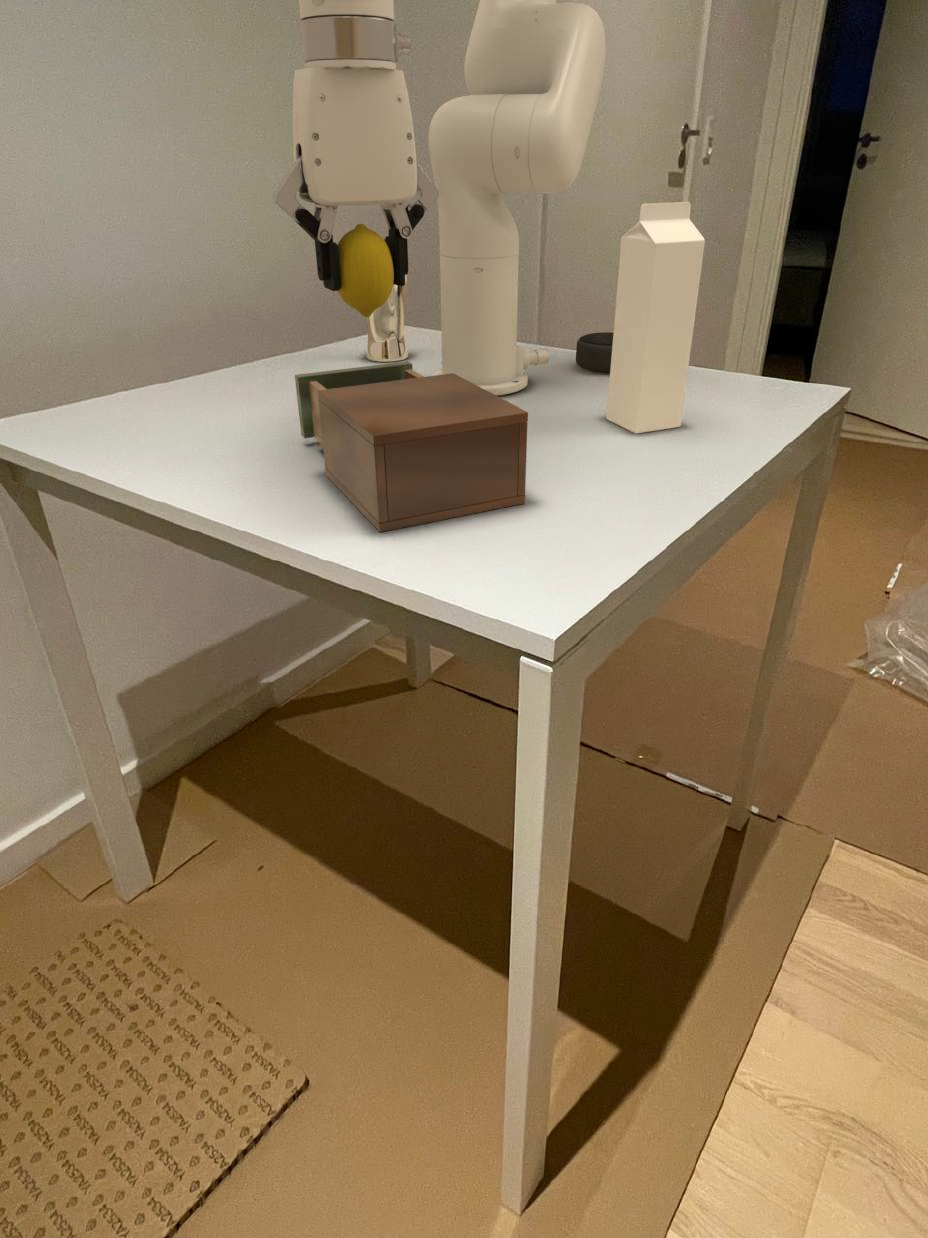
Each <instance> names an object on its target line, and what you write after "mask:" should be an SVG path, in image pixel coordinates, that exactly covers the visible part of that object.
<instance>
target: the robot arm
mask: <svg viewBox="0 0 928 1238" xmlns="http://www.w3.org/2000/svg"><path fill="white" fill-rule="evenodd" d="M394 3H395V1H394V0H298V8H299V17H300V19H299V20H300V30H301V31H300V32H301V40H302V54H303V65H304V68H299V69H294V73H293V74H294V75H293V85H292V86H293V87H292V89H293V90H292V152H293V156H292V157H293V164H292V166H291V167H290V169H289V170H288V172H287V173H286V174H285V176H284V178H283V179H282V181H281V182H280V183H279V185H278V187H277V188H276V190H275V191H274V193H273V195H272V200H273V202H274V203H275V205H277V207H279V208H280V209H281V210H282V211H283V212H284V213H286V214H287V215H288V216H289V217H291V219H293V220H294V222H295V223H296V224H297V225H298V226H300V227H301V229H303V230H304V231H305V233H307V234H308V235H309V238H310V239H312V240H313V241H314V247H315V258H316V259H315V260H316V271H317V276H318V280H319V281H321V282H323V287H324V289H327V290H329V291H331V292H338V291H339V289H341V279H340V266H339V253H338V243H337V242H334V236H333V232H334V231H333V230H334V226H335V222H336V217H337V213H338V209H339V206H341V207H342V206H343V207H345V206H367V205H368V206H369V205H370V206H371V205H372V206H373V205H379V206H380V209H381V211H382V214H383V217H384V219H385V222H386V225H387V228H388V235H386V236H385V238H383V239H384V241H385V242H386V244H387V245H388V248H389V250H390V253H391V257H392V261H393V267H394V282H393V284H394V285H397V286H404V285H405V275H407V274H408V275H409V250H408V249H409V247H408V239H410V238H411V237H412V234H413V231H414V229H415V228H416V227H417V226H418V224H419V223H420V222H421V220H422V219H423V218H424V216H425V213H426V212H427V211H428V210H429V209H430V208H431V207H432V206H433V204H435V202H437V214H438V215H437V216H438V232H439V280H440V281H439V282H440V283H439V285H440V286H439V287H440V326H441V328H440V334H441V335H440V337H441V368H439V369H437V370H435V371H434V372H432V373H431V374H430V376H435V375H443V374H451V373H454V374H456V375H458V376H460V377H461V378H463V379H465V380H467V381H469V382H471V383H473V384H475V385H477V386H479V387H481V388H482V389H484V390H486V391H488V392H490V393H492V394H494V395H496V396H503V395H509V394H513V393H517V392H519V391H522V390H524V389H525V388H526V387H527V386H528V382H529V381H528V380H529V375H528V374H527V373H526V372H525V371H524V370H527V369H529V367H530V366H542V365H547V364H549V363H550V360H551V355H550V351H549V349H547V348H541V349H533V350H531V349H530V348H524V347H521V346H518V345H517V341H518V340H517V339H518V337H517V336H518V307H519V304H518V303H519V302H518V301H519V268H520V267H519V265H520V264H519V263H520V261H519V260H520V258H519V257H520V237H519V235H520V234H519V230H518V227H517V223H516V221H515V220H514V217H513V215H512V214H511V212H510V210H509V209H508V207H507V205H506V203H505V202H504V199H503V198H502V196H501V195H507V194H520V195H521V194H523V195H524V194H525V195H526V194H527V195H544V194H545V195H549V194H558V193H563V192H564V191H566V190H568V189H569V188H570V187H572V185H573V184H574V182H575V181H576V180H577V178H578V175H579V173H580V170H581V167H582V164H583V160H584V157H585V153H586V149H587V145H588V142H589V138H590V133H591V130H592V126H593V121H594V119H595V118H594V117H595V114H596V109H597V106H598V101H599V98H600V94H601V90H602V85H603V81H604V77H605V68H606V61H607V59H606V58H607V57H606V56H607V41H606V34H605V33H606V32H605V27H604V23H603V21H602V19H601V17H600V15H599V13H597V11H596V10H595V9H594V8H593V7H591V6H590V5H587V4H586V3H582V2H581V3H580V2H558V3H557V0H479V2H478V7H477V11H476V14H475V18H474V22H473V24H472V28H471V32H470V36H469V39H468V44H467V48H466V53H465V58H464V71H463V76H464V83H465V86H466V89H467V91H468V92H469V94H470V95H463V96H459V97H454V98H453V99H450V100H448V101H447V102H444V103H443V104H442V105H440V106H439V108H437V110H436V112H435V113H434V114H433V117H432V119H431V121H430V125H429V129H428V151H429V159H430V165H431V170H432V175H433V180H434V183H433V181H432V180H431V179H430V177H429V176H428V174H427V173H426V172H425V171H424V169H423V168H422V167H421V165H420V164H419V163H418V161H417V152H416V141H415V131H414V123H413V122H414V121H413V115H412V108H411V103H410V96H409V92H408V87H407V82H406V77H405V74H404V71H403V70H402V69H397V63H399V57H401V56H402V55H404V56H405V55H410V52H411V47H412V45H411V38H410V36H409V35H406V34H401V32H398V25H397V23H395V6H394ZM297 196H298V197H299V198H300V199H301V200H302V201H305V202H307V203H311V204H314V206H313V211H312V213H311V211H309V210H308V209H306V208H305V207H304V206H303V205H302V204H301V203H300V202H299V201H298V199H297ZM413 198H414V199H413ZM412 199H413V200H412ZM410 200H412V201H411V203H409V204H407V205H406V207H405V204H404V203H406V202H408V201H410Z"/></svg>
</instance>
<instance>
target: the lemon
mask: <svg viewBox="0 0 928 1238" xmlns="http://www.w3.org/2000/svg"><path fill="white" fill-rule="evenodd" d="M384 239H385V238H383V237H382V236H381V235H380V234H379V233H377V232H376V231H374V230H372V229H369V228H368V227H367V225H366V224H364V223H358V224H356V225H355V227H354V228H352V229H351V230H349V231H347V232H346V233H345V234H344V235H343V236H342V237H341V238H340V240H339V241H338V242H337V245H338V253H339V266H340V279H341V289H339V291H337V292H338V294H339V296H340V298H341V299H342V300H343V302H344V303H346V305H348V307H351V308H352V309H354V310H356V311H358V313H359V314H360V315H362V317H364V318H365V317H369V316H371V314H372V313H373V312H374V310H375V309H377V308H378V307H380V306H382V305H383V304H384V303H385V302H386V301H387V299H388V298H389V296H390V294H391V291H392V288H393V282H394V267H393V261H392V257H391V253H390V250H389V248H388V245H387V244H386V242H385V241H384Z"/></svg>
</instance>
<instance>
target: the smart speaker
mask: <svg viewBox="0 0 928 1238" xmlns="http://www.w3.org/2000/svg"><path fill="white" fill-rule="evenodd" d="M613 333H614V332H609V331H607V332H603V331H602V332H593V333H587V334H584V335H582V336H580V337H579V338H578V339H577V341H576V349H575V363H576V365H577V366H578V367H579V368H581V369H583V370H585V371H587V372H590V373H596V374H605V375H606V374H609V375H610V369H611V357H612V345H613Z"/></svg>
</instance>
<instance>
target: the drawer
mask: <svg viewBox="0 0 928 1238" xmlns="http://www.w3.org/2000/svg"><path fill="white" fill-rule="evenodd" d="M420 377H425V376H424V375H422V374H421V373H419V372H417V371H415V370H414V369H413V363H412V362H410V361H398V362H389V363H384V364H383V363H382V364H377V365H376V364H375V365H367V366H366V365H365V366H357V367H349V368H341V369H332V370H324V371H316V372H315V371H314V372H307V373H306V372H305V373H298V374H294V382H295V389H296V390H295V391H296V399H297V408H298V416H299V418H298V419H299V426H300V434H301V435H300V436H302V437H303V439H310V438H312V439H313V438H314V440H316V441H317V442H318V443H319V444H320V445H321V446H322V447H323V440H322V430H321V420H320V410H319V399H318V390H325V389H333V388H341V387H349V386H356V385H364V384H372V383H380V382H388V381H396V380H404V379H412V378H420Z"/></svg>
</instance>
